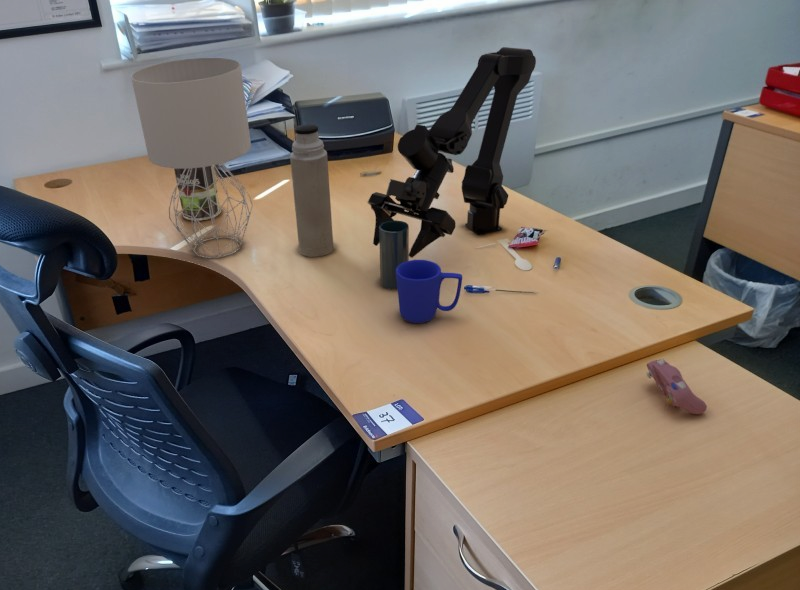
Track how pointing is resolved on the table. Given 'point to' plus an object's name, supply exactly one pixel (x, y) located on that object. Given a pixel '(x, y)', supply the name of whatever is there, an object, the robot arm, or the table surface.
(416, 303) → the mug
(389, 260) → the pencil cup
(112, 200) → the table surface
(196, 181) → the coffee can
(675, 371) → the toy shoe
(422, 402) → the table surface
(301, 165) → the thermos bottle
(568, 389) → the table surface
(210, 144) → the table lamp
